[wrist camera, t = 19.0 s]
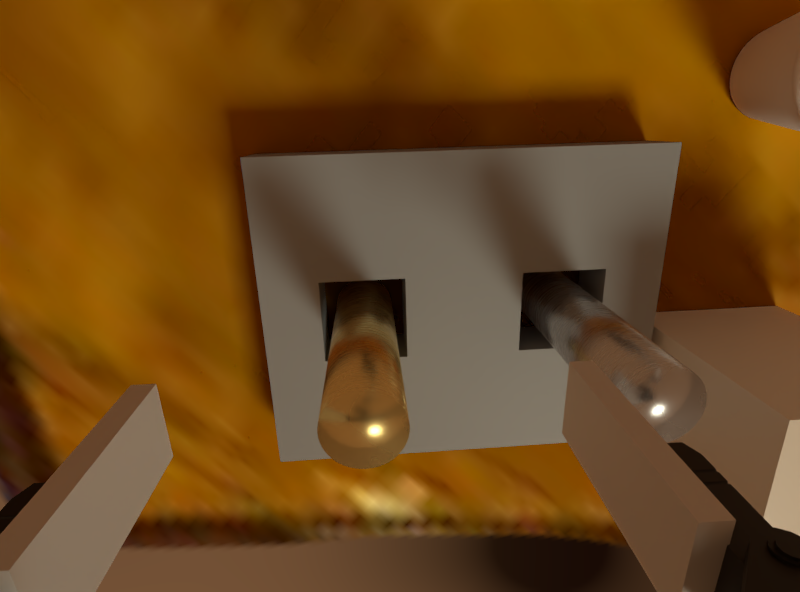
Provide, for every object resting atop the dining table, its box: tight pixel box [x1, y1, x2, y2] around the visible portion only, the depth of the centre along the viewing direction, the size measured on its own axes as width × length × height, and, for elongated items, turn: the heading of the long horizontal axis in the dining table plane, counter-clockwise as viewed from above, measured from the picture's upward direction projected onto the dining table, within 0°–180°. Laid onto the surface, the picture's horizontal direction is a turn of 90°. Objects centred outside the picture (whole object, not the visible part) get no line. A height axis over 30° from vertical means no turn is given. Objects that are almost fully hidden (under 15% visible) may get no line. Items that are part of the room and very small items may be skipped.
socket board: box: [240, 141, 682, 462], centre depth 26 cm, size 16×20×3 cm
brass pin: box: [317, 280, 410, 469], centre depth 21 cm, size 3×3×12 cm
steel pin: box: [521, 271, 707, 443], centre depth 22 cm, size 3×3×12 cm
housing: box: [652, 306, 800, 536], centre depth 25 cm, size 9×9×11 cm
